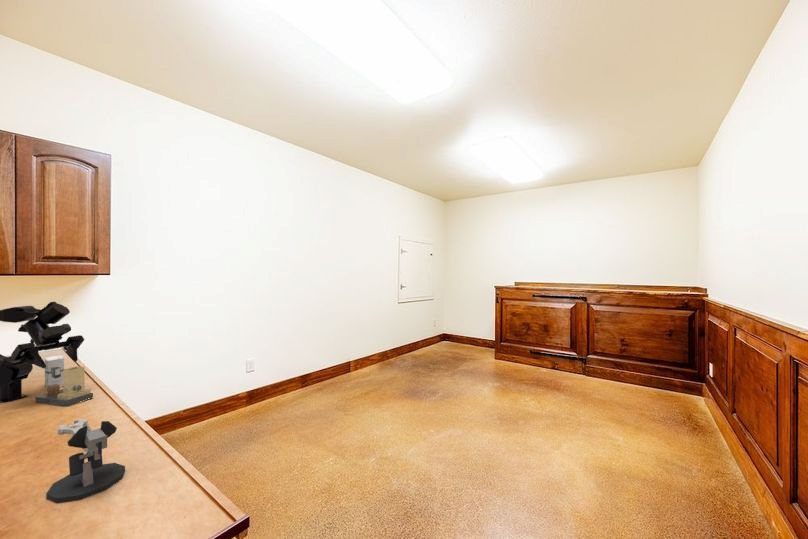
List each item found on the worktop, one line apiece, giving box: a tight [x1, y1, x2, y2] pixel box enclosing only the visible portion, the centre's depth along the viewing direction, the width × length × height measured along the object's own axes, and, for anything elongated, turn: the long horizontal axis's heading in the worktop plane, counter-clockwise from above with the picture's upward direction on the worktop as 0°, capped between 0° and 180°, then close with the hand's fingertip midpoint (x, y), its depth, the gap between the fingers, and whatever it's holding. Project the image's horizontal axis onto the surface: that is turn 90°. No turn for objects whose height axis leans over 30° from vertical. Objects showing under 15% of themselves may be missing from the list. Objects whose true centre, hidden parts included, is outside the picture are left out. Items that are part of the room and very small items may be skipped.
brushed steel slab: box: [34, 384, 94, 407], centre depth 123 cm, size 16×8×5 cm, turn 74°
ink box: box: [44, 354, 65, 389], centre depth 139 cm, size 9×5×12 cm, turn 53°
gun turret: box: [45, 420, 126, 504], centre depth 76 cm, size 13×20×13 cm, turn 50°
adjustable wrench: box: [57, 418, 89, 452], centre depth 95 cm, size 25×6×2 cm, turn 49°
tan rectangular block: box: [57, 365, 91, 400], centre depth 122 cm, size 5×7×10 cm
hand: (61, 364), depth 124 cm, fingers open, 9 cm apart
